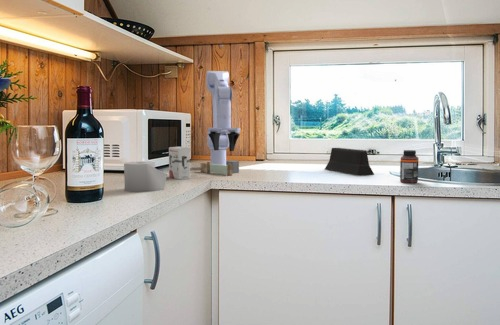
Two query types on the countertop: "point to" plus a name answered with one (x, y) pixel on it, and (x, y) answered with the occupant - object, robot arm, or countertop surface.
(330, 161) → the black broom head
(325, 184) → the countertop surface
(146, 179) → the grey sloped wedge
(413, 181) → the supplement bottle
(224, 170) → the pale green bar
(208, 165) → the tan small pieces
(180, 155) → the ink box
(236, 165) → the grey faceted block
